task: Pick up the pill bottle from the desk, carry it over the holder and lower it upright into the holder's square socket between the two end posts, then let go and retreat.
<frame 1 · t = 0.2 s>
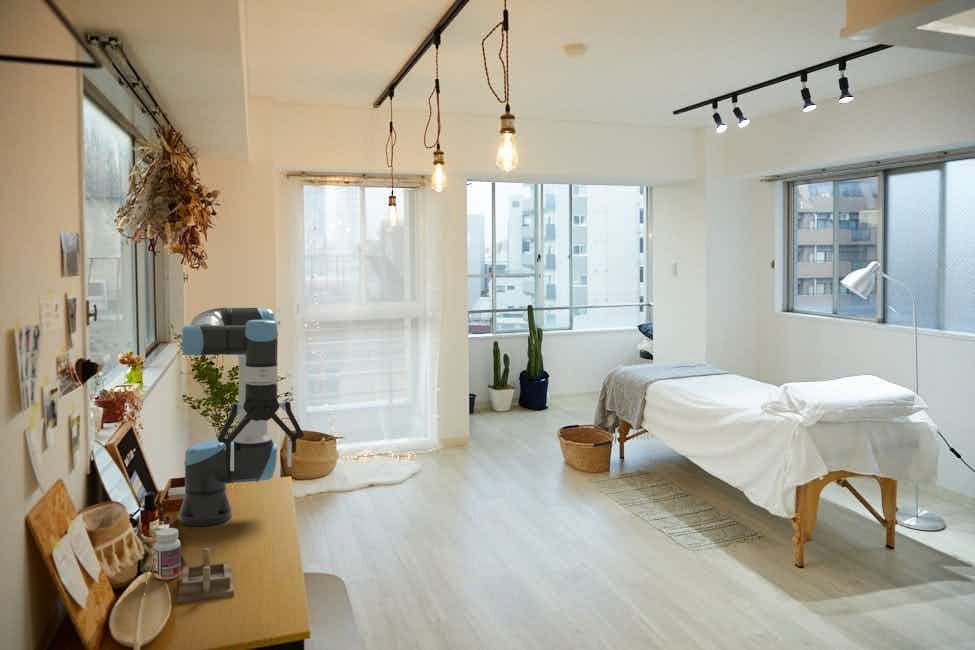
hand: (261, 467, 181), 28 cm above the table, fingers open, 13 cm apart
pill bottle: (167, 576, 181), on the table
holder: (206, 587, 175), on the table
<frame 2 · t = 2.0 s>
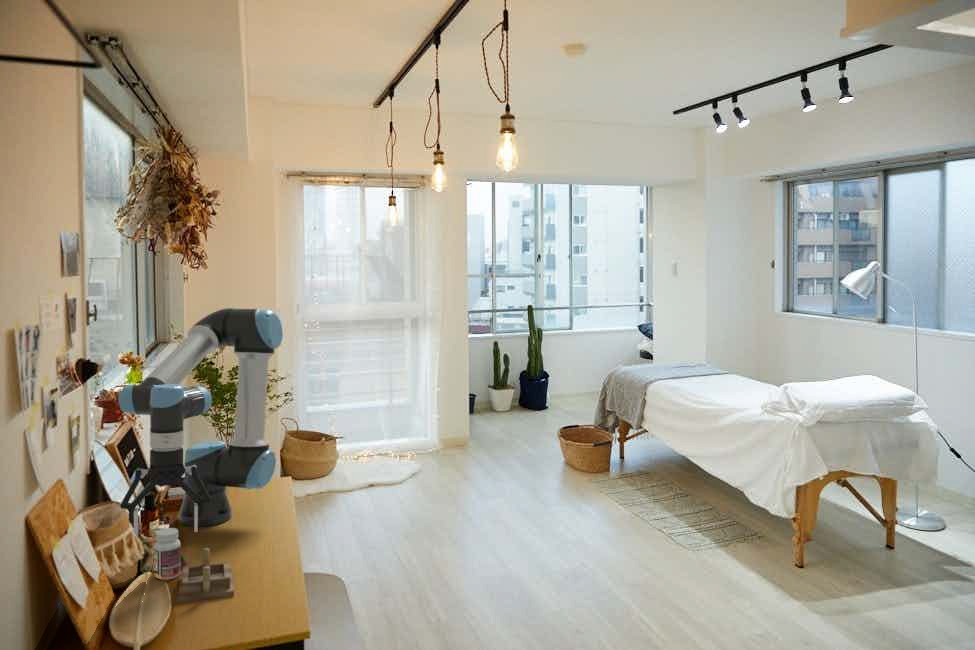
hand: (166, 532, 180), 11 cm above the table, fingers open, 13 cm apart
nothing on the table moved.
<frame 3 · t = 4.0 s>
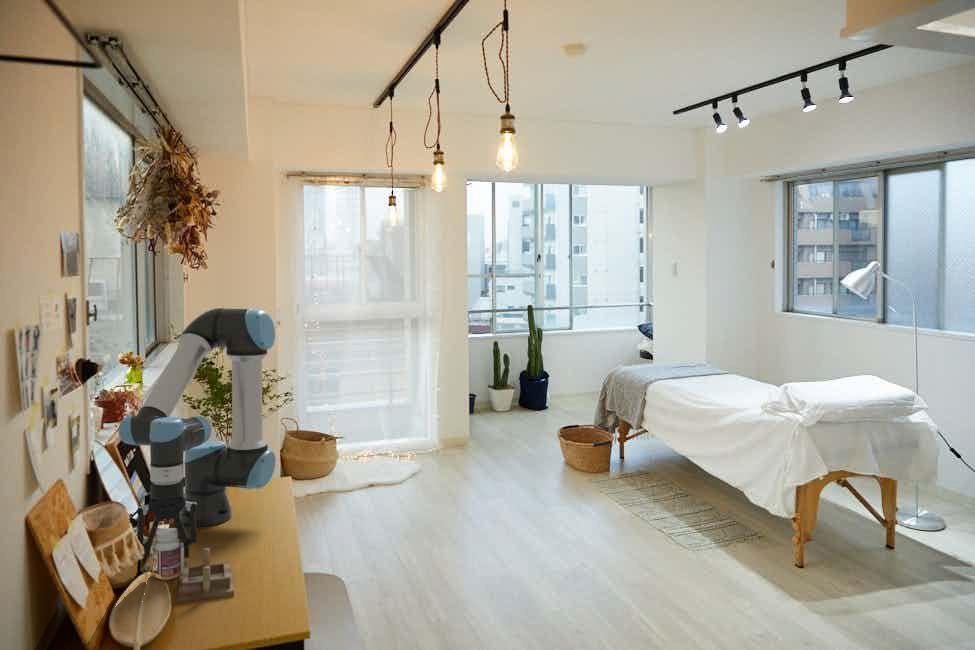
hand: (167, 572, 181), 1 cm above the table, fingers closed on pill bottle, 6 cm apart
pill bottle: (167, 576, 181), on the table, touching gripper
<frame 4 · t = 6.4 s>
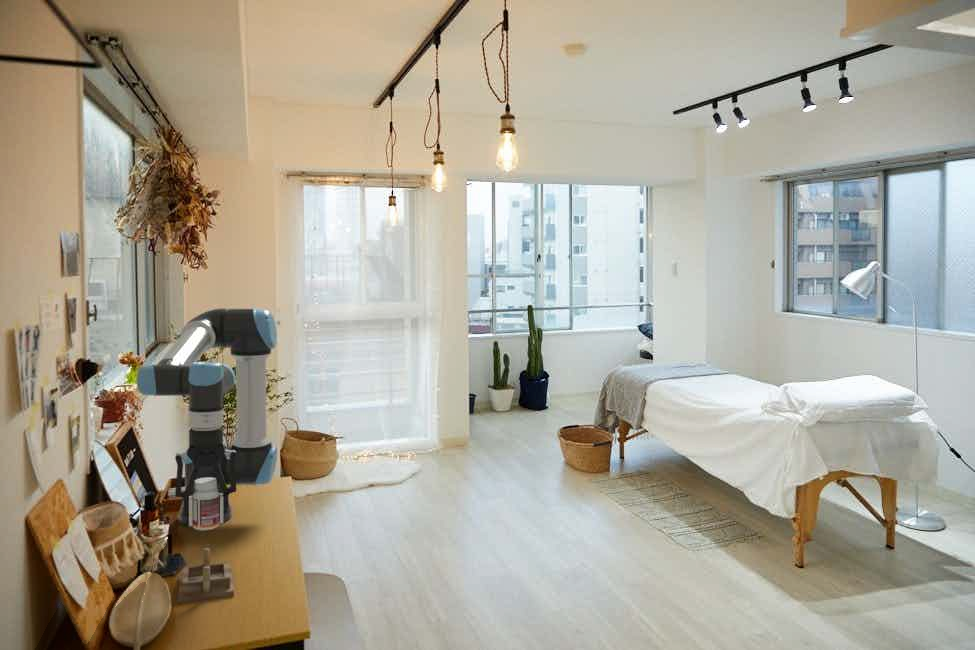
hand: (206, 522, 174), 16 cm above the table, fingers closed on pill bottle, 6 cm apart
pill bottle: (206, 527, 174), point 15 cm above the table, touching gripper
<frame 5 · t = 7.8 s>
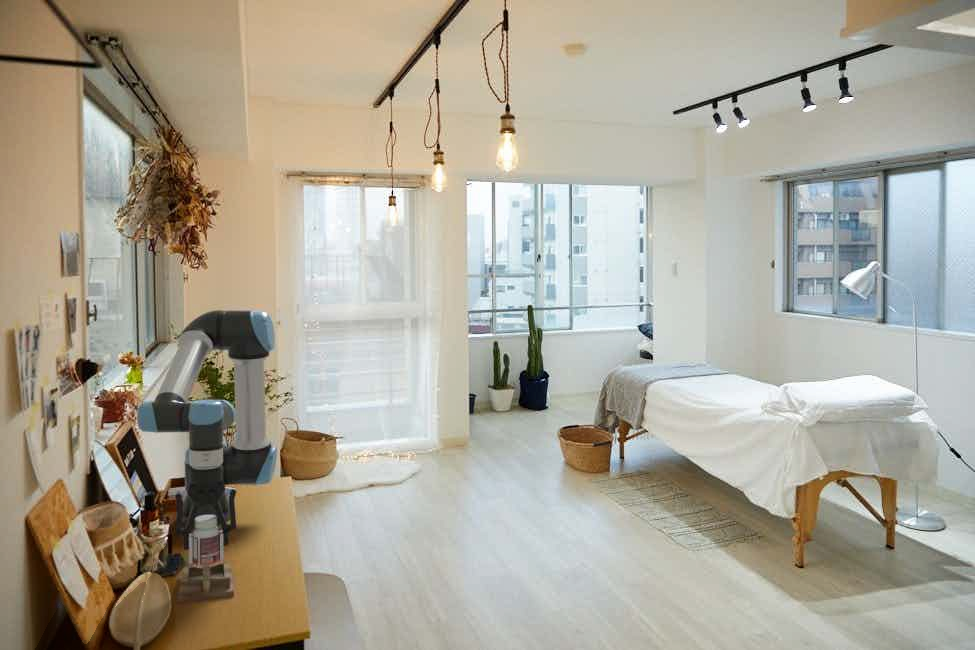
hand: (206, 560, 175), 7 cm above the table, fingers closed on pill bottle, 6 cm apart
pill bottle: (206, 564, 175), point 6 cm above the table, touching gripper
when the fingers open (5 cm above the table, at t = 9.0 s): pill bottle drops 2 cm, resting on holder.
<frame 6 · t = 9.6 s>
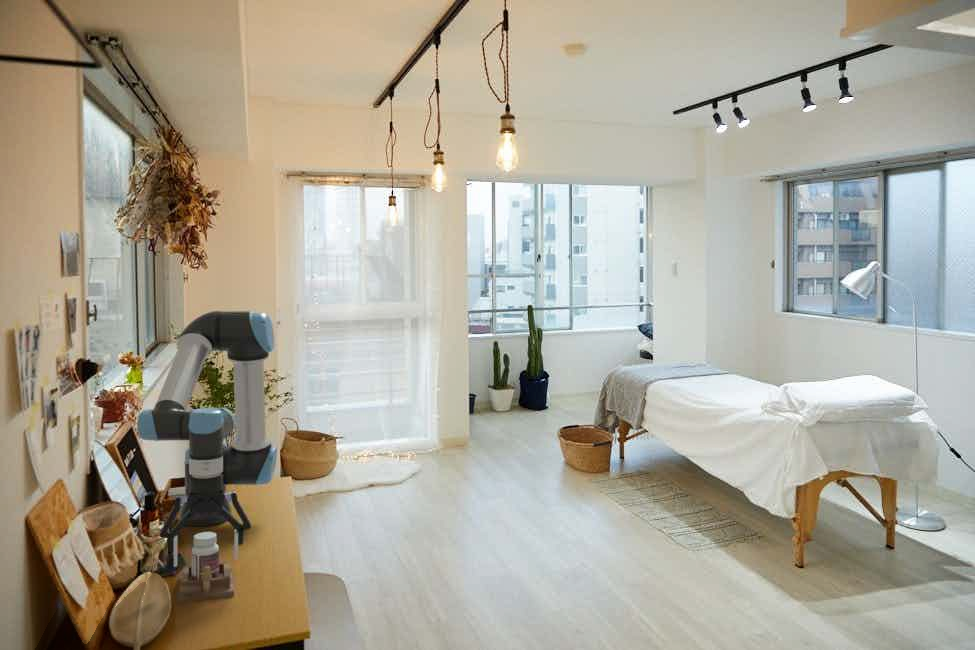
hand: (206, 561, 175), 6 cm above the table, fingers open, 13 cm apart
pill bottle: (205, 582, 175), point 1 cm above the table, touching holder
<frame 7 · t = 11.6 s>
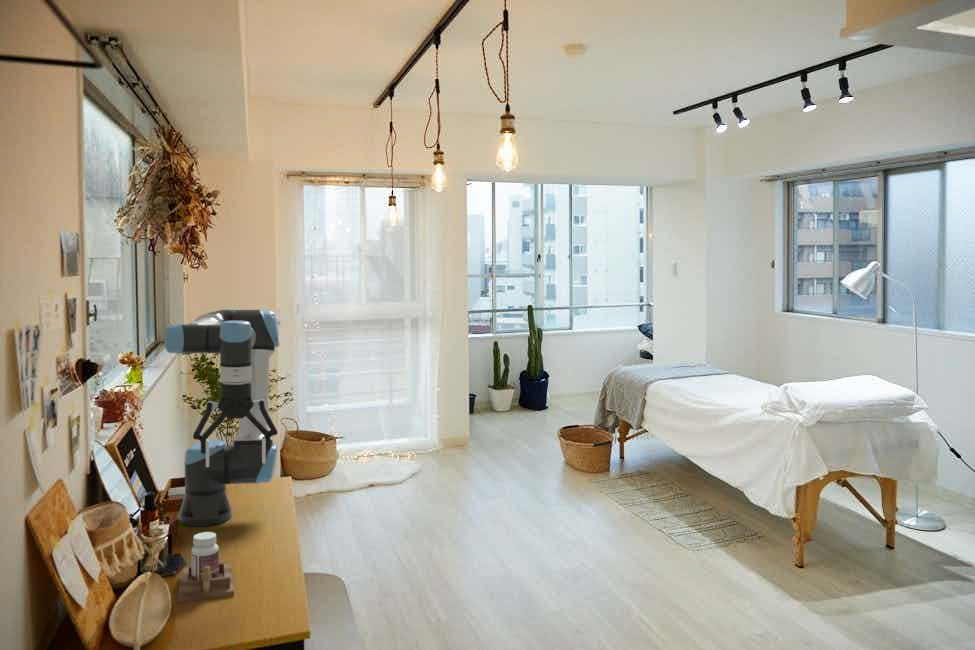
hand: (236, 463, 187), 27 cm above the table, fingers open, 13 cm apart
nothing on the table moved.
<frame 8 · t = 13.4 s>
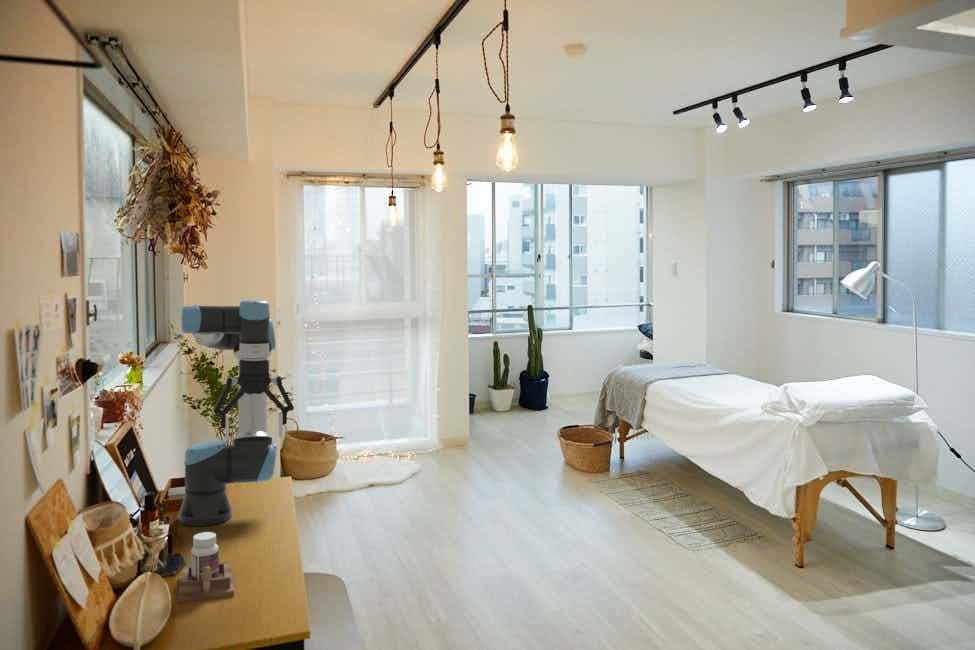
hand: (254, 438, 194), 32 cm above the table, fingers open, 13 cm apart
nothing on the table moved.
at the end: pill bottle 0.3 cm off-centre on the holder, point 1.2 cm above the holder's base; pill bottle tilted 0°; the gripper is holding nothing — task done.
